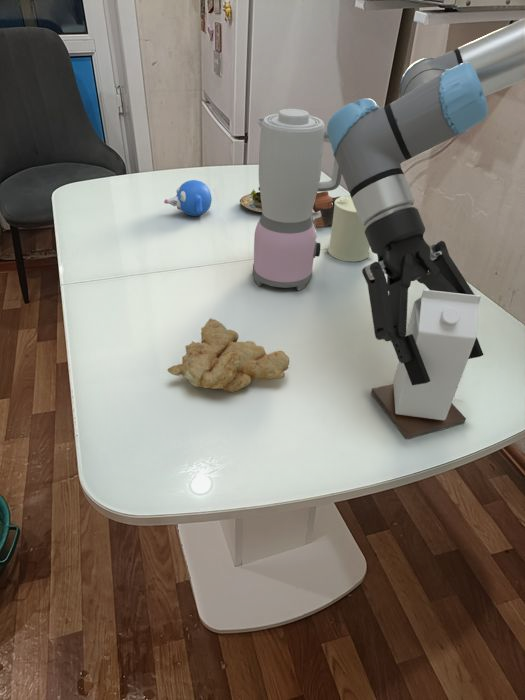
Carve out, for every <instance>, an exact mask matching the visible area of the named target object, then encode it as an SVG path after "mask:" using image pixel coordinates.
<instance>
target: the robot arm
mask: <svg viewBox="0 0 525 700" xmlns="http://www.w3.org/2000/svg"><path fill="white" fill-rule="evenodd" d="M521 82H522V83H523V82H525V17H524V18H522V19H519V20H517V21H515V22H512V23H510V24H508V25H506V26H504V27H502V28H499V29H497V30H495V31H492V32H490V33H488V34H486V35H484V36H482V37H479V38H477V39H475V40H473V41H470V42H467V43H466V44H463V45H462V46H458V47H457V48H456V49H453V50H451V51H448V52H445V53H443V54H440V55H439V56H436V57H425V58H420V59H418V60H416V61H414V62H413V63H412V64H410V65H409V67H407V69H406V70H405V71H404V73H403V75H402V77H401V80H400V84H399V88H398V93H399V96H398V98H397V99H395V100H393V101H392V102H391V103H388V104H386V105H385V106H381V107H380V106H379V105H378V104H377V103H376V101H375V100H374V99H372V98H360V99H358V100H356V101H355V102H350V103H347V104H345V105H344V106H342V107H341V108H339V109H338V110H337V111H336V112H334V114H333V115H332V116H331V117H330V119H329V120H328V122H327V125H326V131H327V133H328V136H329V139H330V143H329V144H330V146H331V148H332V152H333V154H332V155H333V157H334V158H335V159H336V161H337V163H338V166H339V168H340V171H341V173H342V175H341V177H342V178H343V181H344V183H345V185H346V188H347V191H348V192H349V196H351V198H352V201H353V204H354V206H355V209H356V211H357V214H358V216H359V219H360V222H361V224H362V225H364V226H367V228H366V229H365V235H366V238H367V240H368V243H369V245H370V246H369V249H370V250H371V252H372V253H373V254H375V255H377V261H373V262H372V263H370V264H368V265H365V266H364V267H363V268H362V269H361V273H362V276H363V278H364V280H365V282H366V285H367V290H368V296H369V303H370V311H371V317H372V318H371V319H372V324H373V330H374V332H373V333H374V336H375V339H376V340H378V341H381V340H383V341H385V342H391V345H392V346H393V348H394V351H395V354H396V356H397V359H398V361H400V362H401V363H404V365H405V368H406V371H407V373H408V376H409V378H410V381H411V383H412V385H418V384H424V383H428V382H430V378H429V376H428V373H427V371H426V368H425V365H424V363H423V360H422V358H421V355H420V353H419V350H418V347H417V345H416V342H415V340H414V337H413V335H412V334H411V335H407V336H405V335H406V331H407V326H408V323H407V322H408V321H407V320H408V300H409V299H408V296H409V288H410V287H411V284H412V282H415V281H417V282H418V283H419V284H423V285H424V286H425V287H426V288H427V290H432V291H441V292H450V293H460V294H469V295H476V294H475V292H474V291H473V290H472V288H471V287H470V285H469V284H468V282H467V280H466V279H465V278H464V276H463V274H462V273H461V271H460V270H459V268H458V266H457V265H456V264H455V262H454V260H453V259H452V257H451V255H450V253H449V250H448V247H447V245H446V242H445V241H443V240H440V241H438V242H436V243H434V244H430V245H429V244H428V243H427V241H426V240H425V238H424V234H425V233H426V227H425V225H424V222H423V219H422V217H421V214H420V212H419V209H418V208H416V207H414V206H413V205H414V204H415V198H414V195H413V193H412V190H411V188H410V185H409V183H408V181H407V178H406V175H405V174H404V171H403V169H402V165H401V164H402V163H404V162H406V161H408V160H410V159H412V158H415V157H416V156H418V155H420V154H422V153H424V152H426V151H428V150H430V149H433V148H434V147H437V146H438V145H440V144H442V143H444V142H446V141H448V140H451V139H453V138H454V137H456V136H458V135H460V136H461V135H463V134H465V133H466V132H467V131H468V130H470V129H472V128H473V127H475V126H477V125H478V124H480V123H482V122H483V121H485V120H486V118H487V116H488V114H489V106H488V102H487V98H486V97H488V96H490V95H492V94H495V93H497V92H499V91H502V90H505V89H508V88H509V87H512V86H514V85H517V84H520V83H521ZM386 275H387V276H386ZM386 277H387V278H386ZM478 339H479V338H478V337H477V336H476V340H475V342H474V345H473V348H472V351H471V353H470V356H469V359H468V360H470V359H476V358H480V357H483V356H484V355H485V354H484V351H483V349H482V347H481V345H480V342H479V340H478Z"/></svg>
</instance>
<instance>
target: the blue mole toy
mask: <svg viewBox="0 0 525 700" xmlns="http://www.w3.org/2000/svg"><path fill="white" fill-rule="evenodd" d="M212 199H213V198H212V193H211V190H210V188H209V186H208V185H207V184H206V183H204V182H203V181H201V180H196V179H191V180H187V181H185V182H183V183H182V184H180V186H179V187H177V189H176V195H175V196H174V197H173V196H172V197H170V198H168V199H164V201H163V203H164V204H169V205H170V206H173V207H176V208H177V210H179V211H181V212H183V213H184V214H186V215H188V216H192V217H198V216H199V217H200V216H202V215H204V214H206V213H207V212H208V211H209V210H210V208H211V205H212Z"/></svg>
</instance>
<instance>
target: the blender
mask: <svg viewBox="0 0 525 700" xmlns="http://www.w3.org/2000/svg"><path fill="white" fill-rule="evenodd" d="M256 122H257V123H258V125H259V127H260V137H259V148H258V149H259V150H258V185H259V186H258V188H259V187H260V191H259V192H260V195H261V203H262V212H261V215H260V218H259V220H258V222H257V224H256V226H255V230H254V237H253V263H252V274H253V276H254V282H255V283H256V285H258V286H263V284H264V285H267V286H270V287H274V288H284V289H287V288H295V289H296V290H297V291H301V290H304V289H305V288H306V286H307V283H308V282H309V281H310V280H311V278H312V276H313V266H314V259H315V258H316V257H317V258H318V257H320V256H321V245H322V244H321V243H320V242H317V240H316V239H317V237H318V235H317V230H316V227H315V224H314V221H313V218H312V214H313V211H314V210H313V206H314V203H315V199H316V195H317V193H320V192H324V191H328V192H330V191H334V190H336V189H337V188H339V186H340V184H341V181H342V173H341V171H340V168H339V166H338V163H337V161H336V159H335V157H334V159H333V167H332V174H331V179H330V180H327V181H321V177H322V168H323V157H324V149H325V148H324V147H325V145H324V144H325V143H329V144H331V143H330V139H329V136H328V133H327V130H326V131H325V129H326V128H325V127H326V125H325V122H324V121H323V120H322V119H320V118H319V117H316V116H313V115H310V113H309V111H307V110H305V109H300V108H284V109H280V110H279V111H278V113H273V114H269V115H266V116H265V117H264V118H258V119H256Z"/></svg>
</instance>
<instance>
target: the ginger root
mask: <svg viewBox="0 0 525 700" xmlns="http://www.w3.org/2000/svg"><path fill="white" fill-rule="evenodd" d="M200 331H201V332H200V335H201V338H200V339H201V340H200V341H201V342H199V341H198V342H195V341H193V340H192V341H191V342H190V343H189V344H187V345H185V355H183V356H182V357H181V363H179V364H176V365H175V364H174V365H172V366H170V367H168V368H167V372H168V373H169V374H171V375H173V376H176V377H177V376H178V377H179V376H182V377H184V378H185V379H186V380H188V382H189V383H190V385H191V386H193V387H195V388H204V389H212V390H215V389H221V390H224V391H226V392H229V393H232V392H237V391H239V390H240V389H242V388H244V387H247V386H249V385H250V384H251V382H252V380H255V381H262V380H263V381H264V380H277V379H284V378H285V372H286V371H287V370H288V369H289V368H290V367H289V366H290V357H289V356H288V355H287V354H286V352H285V351H284V350H275V351H274V352H269V353H267V352H266V350H265V347H264V346H262V345H257V344H256V342H255V341H253V340H247V341H238V340H239V333H238V332H236V331H235V330H234V329H227V328H226V327H225V325H224V324H223V323H221V322H220V321H218V320H216V319H214V318H209V319H208V321H207V322H206V323H205V324H204V326H203V327H201V330H200Z"/></svg>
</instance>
